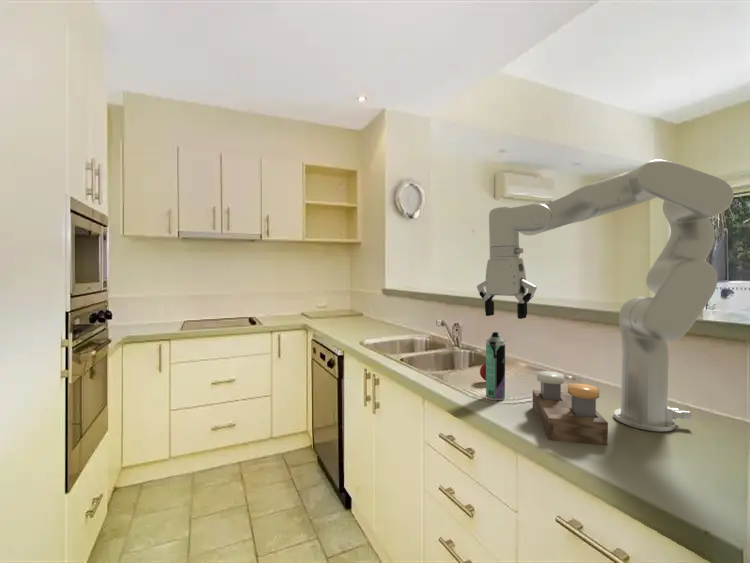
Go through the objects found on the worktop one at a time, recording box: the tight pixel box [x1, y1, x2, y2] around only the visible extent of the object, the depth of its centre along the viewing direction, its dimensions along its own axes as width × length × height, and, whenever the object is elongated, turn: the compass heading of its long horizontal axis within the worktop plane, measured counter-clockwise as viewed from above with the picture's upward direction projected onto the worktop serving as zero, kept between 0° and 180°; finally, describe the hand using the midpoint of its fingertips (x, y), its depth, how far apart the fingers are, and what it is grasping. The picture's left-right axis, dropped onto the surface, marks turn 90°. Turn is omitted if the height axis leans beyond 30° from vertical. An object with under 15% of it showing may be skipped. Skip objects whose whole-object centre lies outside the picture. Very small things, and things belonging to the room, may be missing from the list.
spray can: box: [485, 331, 506, 401], centre depth 111 cm, size 6×6×20 cm
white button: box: [536, 370, 565, 401], centre depth 97 cm, size 6×6×7 cm
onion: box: [479, 362, 486, 382], centre depth 126 cm, size 6×6×8 cm
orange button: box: [567, 382, 600, 418], centre depth 86 cm, size 6×6×7 cm
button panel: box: [532, 389, 609, 446], centre depth 92 cm, size 12×20×5 cm, turn 166°
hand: (505, 316), depth 100 cm, fingers open, 9 cm apart
